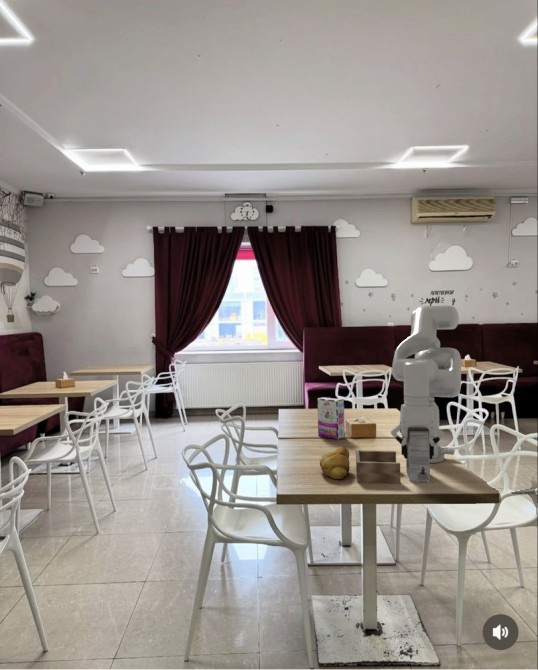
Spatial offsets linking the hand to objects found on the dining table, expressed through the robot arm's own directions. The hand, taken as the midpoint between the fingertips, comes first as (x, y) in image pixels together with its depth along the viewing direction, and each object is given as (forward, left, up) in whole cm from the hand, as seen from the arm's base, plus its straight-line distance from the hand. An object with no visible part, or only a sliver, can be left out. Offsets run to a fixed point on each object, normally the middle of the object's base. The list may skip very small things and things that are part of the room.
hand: (417, 457), depth 139 cm
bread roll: (+26, 0, -7) cm, 27 cm away
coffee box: (0, 0, -7) cm, 7 cm away
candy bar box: (+29, -46, -6) cm, 55 cm away
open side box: (+13, 0, -6) cm, 14 cm away
